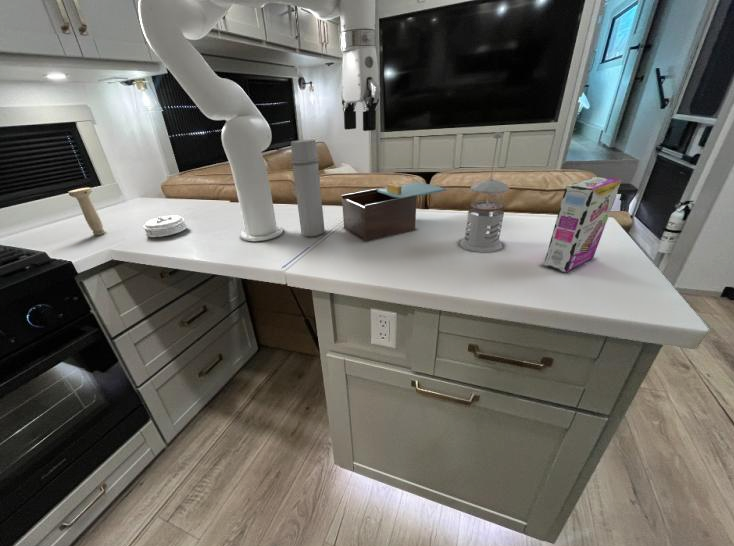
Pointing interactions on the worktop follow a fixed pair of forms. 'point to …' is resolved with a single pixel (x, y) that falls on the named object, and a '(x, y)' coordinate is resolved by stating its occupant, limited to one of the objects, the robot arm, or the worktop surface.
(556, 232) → the candy bar box
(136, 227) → the worktop surface
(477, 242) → the french press
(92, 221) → the handle
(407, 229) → the walnut box
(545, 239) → the worktop surface
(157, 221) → the lid
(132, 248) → the worktop surface
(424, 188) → the sliding box cover
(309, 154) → the water bottle
